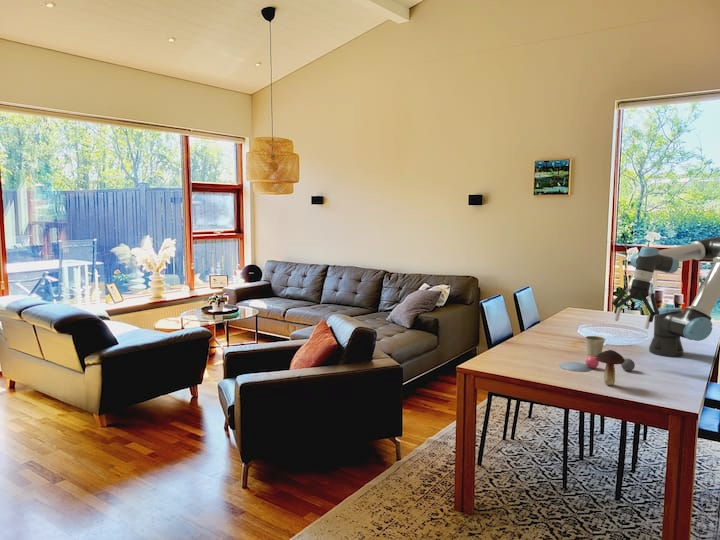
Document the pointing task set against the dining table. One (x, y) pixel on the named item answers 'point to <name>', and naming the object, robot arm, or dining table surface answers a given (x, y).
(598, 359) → the decorative mushroom
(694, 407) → the dining table surface
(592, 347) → the flower pot
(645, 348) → the dining table surface
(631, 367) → the grey ball
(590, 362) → the cranberry ball
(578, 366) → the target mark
